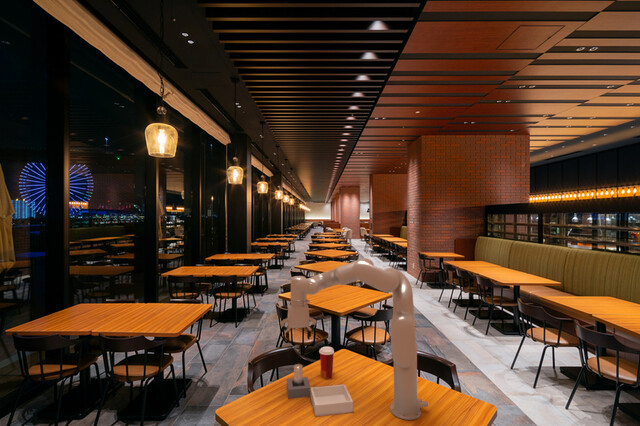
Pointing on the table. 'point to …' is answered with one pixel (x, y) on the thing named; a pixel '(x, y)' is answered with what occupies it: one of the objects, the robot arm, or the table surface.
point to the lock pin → (297, 375)
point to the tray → (331, 400)
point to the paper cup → (326, 362)
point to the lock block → (298, 388)
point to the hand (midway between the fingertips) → (298, 339)
